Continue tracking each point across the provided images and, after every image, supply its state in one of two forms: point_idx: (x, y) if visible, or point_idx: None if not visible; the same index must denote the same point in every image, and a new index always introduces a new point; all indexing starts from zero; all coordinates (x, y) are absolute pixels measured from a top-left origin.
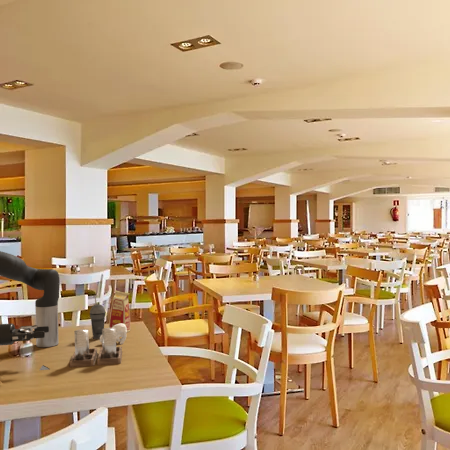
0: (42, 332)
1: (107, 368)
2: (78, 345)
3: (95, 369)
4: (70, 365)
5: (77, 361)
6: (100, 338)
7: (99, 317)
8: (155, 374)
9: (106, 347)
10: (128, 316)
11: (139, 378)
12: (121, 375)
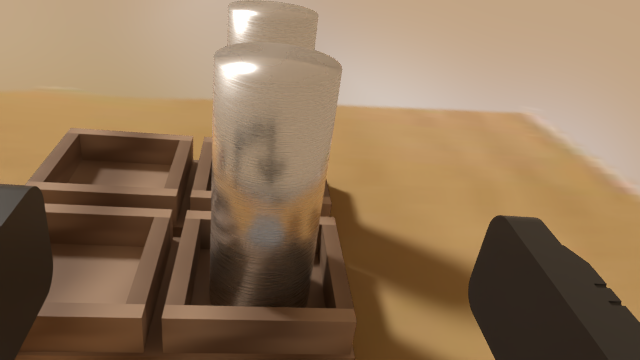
0: (541, 239)
1: (343, 214)
2: (323, 183)
3: (355, 252)
4: (352, 342)
5: (347, 284)
6: None
7: None
8: (434, 128)
9: None
10: None
11: (484, 154)
12: (454, 184)
